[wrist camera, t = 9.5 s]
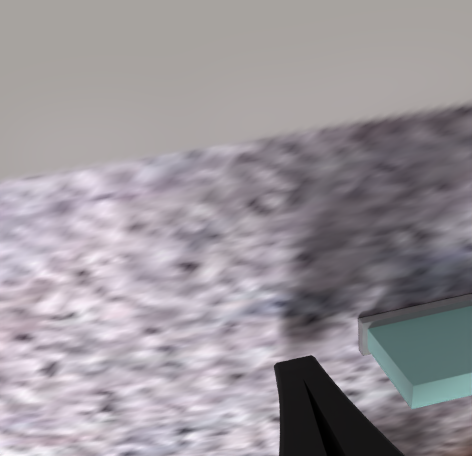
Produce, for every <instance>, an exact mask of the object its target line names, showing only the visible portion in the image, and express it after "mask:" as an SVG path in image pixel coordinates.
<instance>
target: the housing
mask: <svg viewBox="0 0 472 456" xmlns="http://www.w3.org/2000/svg"><path fill="white" fill-rule="evenodd" d="M469 306H472V294H468V295H463V296H459V297H454V298H450V299H445V300H440V301H436V302H431V303H427V304H422V305H418V306H413V307H409V308H404V309H399V310H395V311H390V312H386V313H381V314H377V315H372V316H368V317H363V318H359V319H358V327H359V351H360V352H361V354H362V355H363V356H365V355H369V354H371V353H370V351H369V350H368V329H369V328H374V327H378V326H383V325H387V324H392V323H396V322H401V321H405V320H410V319H414V318H419V317H423V316H428V315H432V314H437V313H441V312H446V311H450V310H455V309H460V308H464V307H469Z"/></svg>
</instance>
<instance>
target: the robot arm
mask: <svg viewBox="0 0 472 456" xmlns="http://www.w3.org/2000/svg"><path fill="white" fill-rule="evenodd" d="M274 370H275V376H276V382H277V388H278V394H279V404H280V448H279V456H405V455H404V454H403V453H402V452H401V451H399V450H398V449H397V448H396V447H395V446H394V445H393V444H392V443H391V442H390V441H389V440H388V439H387V438H386V437H385V436H384V435H383V434H382V433H381V432H380V431H379V430H378V429H377V428H376V427H375V426H374V425H373V424H372V423H371V422H370V421H369V420H368V419H367V418H366V417H365V416H364V415H363V414H362V413H361V412H360V411H359V409H358V408H357V407H356V406H355V405H354V404H353V403H352V402H351V401H350V400H349V399H348V398H347V396H346V395H345V394H344V393H343V392H342V391H341V390H340V388H339V387H338V386H337V385H336V384H335V383H334V381H333V380H332V379H331V378H330V377H329V375H328V374H327V373H326V372H325V370H324V369H323V368H322V367H321V365H320V364H319V363H318V361H317V360H316V358H315V357H313V356H312V355H310V356H306V357H301V358H297V359H292V360H288V361H283V362H279V363H276V364H275V365H274Z"/></svg>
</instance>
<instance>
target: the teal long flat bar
mask: <svg viewBox="0 0 472 456" xmlns="http://www.w3.org/2000/svg"><path fill="white" fill-rule="evenodd" d="M368 350H369V351H370V353H371V354H372V356H373V357H374V358H375V360H376V361H377V362H378V364H379V365H380V367H381V368H382V369H383V371H384V372H385V373H386V375H387V376H388V378H389V379H390V380H391V382H392V383H393V384H394V386H395V387H396V389H397V390H398V391H399V393H400V394H401V395H402V397H403V398H404V399H405V401H406V402H407V404H408V405H409V406H410V408H411V409H415V408H419V407H423V406H428V405H432V404H436V403H440V402H445V401H449V400H453V399H457V398H462V397H466V396H470V395H472V306H469V307H464V308H460V309H455V310H450V311H446V312H441V313H437V314H432V315H428V316H423V317H419V318H414V319H410V320H405V321H401V322H396V323H392V324H387V325H383V326H378V327H374V328H369V329H368Z"/></svg>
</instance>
